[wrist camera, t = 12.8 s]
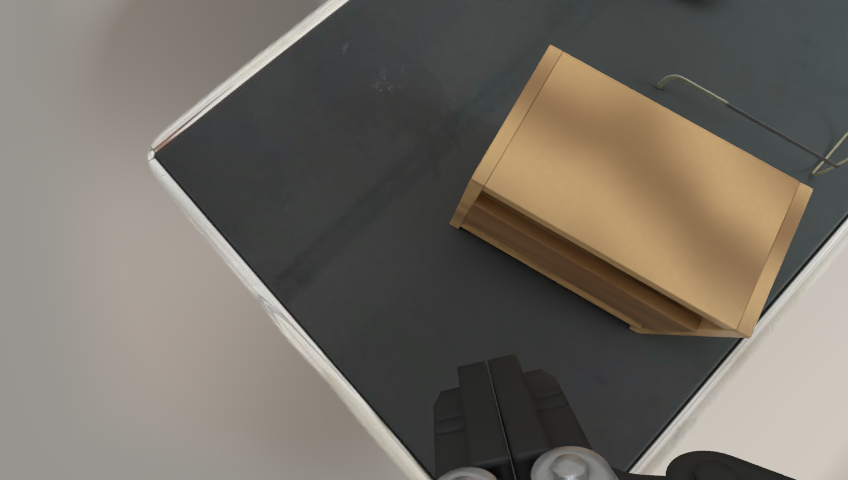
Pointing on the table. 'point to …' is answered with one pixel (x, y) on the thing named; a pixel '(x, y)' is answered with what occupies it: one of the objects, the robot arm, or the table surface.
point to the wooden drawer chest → (632, 205)
